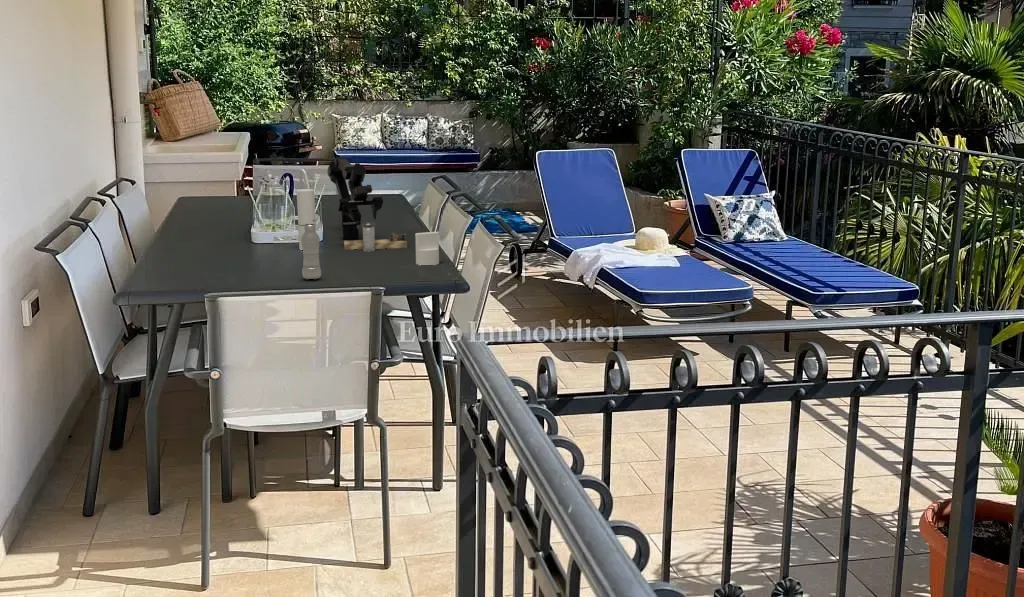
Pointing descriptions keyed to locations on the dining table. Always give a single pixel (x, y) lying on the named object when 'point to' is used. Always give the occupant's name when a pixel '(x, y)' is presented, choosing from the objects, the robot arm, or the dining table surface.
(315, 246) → the plastic bottle
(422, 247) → the base with upright slab
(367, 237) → the grey metallic cylinder
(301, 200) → the cylindrical container
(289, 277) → the dining table surface
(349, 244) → the dock
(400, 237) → the lock pin
